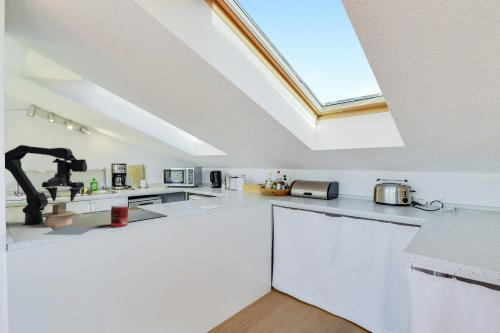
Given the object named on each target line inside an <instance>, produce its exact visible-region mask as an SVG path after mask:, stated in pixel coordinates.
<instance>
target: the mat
mask: <svg viewBox="0 0 500 333" xmlns="http://www.w3.org/2000/svg"><path fill="white" fill-rule="evenodd" d="M99 227H100V226H99V225H98V226H97V225H94V226H93V225H92V226H91V225H65V226H61V227H60V228H56V229H54V230H51V231H48V232H45V233H42V235H51V236H53V235H56V236H57V235H60V236H62V235H63V236H64V235H65V236H66V235H67V236H71V235H72V236H73V235H74V236H76V235H78V236H80V235H81V236H82V235H84V234H86V233H88V232H90V231H92V230H94V229H96V228H99Z"/></svg>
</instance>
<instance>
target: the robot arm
mask: <svg viewBox="0 0 500 333" xmlns="http://www.w3.org/2000/svg"><path fill="white" fill-rule="evenodd" d="M4 154H5V168H4V169H6V170H7V171H9V172H10V173H11V175H12V176H13V179H15V181H16V183H17V184H18V186H19V188H20V189H21V190H22V191H23V193H24V195H25V197H26V198H25V199H26V200H25V201H26V204H27V205H25V206H24V207H23V208H22V209H21V210H22V212H23V214H24V223H23V222H22V223H21V225H22V226H23V225H26V226H27V225H28V226H31V225H32V226H35V225H36V226H37V225H39V224H42V223H43V224H44V223H45V221H44V217H42V214H43V211H44V210H45V208H46V207H47V206H48V204H49V200H48V199H49V198H48V197H47V196H46V194H45V192H39V191H38V190H37V189H36V188H35V186H34V185H33V183H32V181H31V180H30V179H29V177H28V175H27V174H26V172H25V171H24V169H23V168H22V160H23V159H24V158H25V156H26V155H27V154H35V155H43V156H50V157H53V158H55V159H54V160H52V163H54V164H57V165H56V173H54V176H53V177H50V178H49V179H47V181H42V183H41V188H43V189H45V190H47V191H48V193H49V195H50V197H51V199H52V201H53V202H55V201H56V199H57V192H58V187H69V191H70V196H69V198H70V200H69V201H70V202H73V201H74V199H75V198H76V196H77V194H78V193H79V191H80V190H81V189H82V188H84V187H85V183H84V182H83V181H81V182H80V181H74V182H72V180H71V176H73V173H71V171H72V172H74V173H86V172H87V170H88V165H87V162H86V159H77V158H76V157H75V156H74V154H73V151H72V150H71V149H70V148H68V147H67V148H66V147H53V148H51V147H50V148H48V147H39V146H29V145H26V144H25V145H24V144H20V145H18V146H16V147H14V148H12V149H10V150H8V151H6V152H5V153H4Z"/></svg>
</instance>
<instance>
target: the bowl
mask: <svg viewBox="0 0 500 333" xmlns="http://www.w3.org/2000/svg"><path fill="white" fill-rule="evenodd" d="M44 224H45V226H46V227H49V228H51V227H55V228H57V227H65V226H70V225H71V224H72V225H73V216H68V217H59V218H45V221H44Z"/></svg>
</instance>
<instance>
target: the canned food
mask: <svg viewBox="0 0 500 333" xmlns="http://www.w3.org/2000/svg"><path fill="white" fill-rule="evenodd" d="M110 207H111V210H110V226H111V228H124V227H127V226H128V224H129V223H128V220H129V218H128V217H129V204H128V203H127V204H126V203H118V204H117V203H116V204H115V203H114V204H111V206H110Z"/></svg>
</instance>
